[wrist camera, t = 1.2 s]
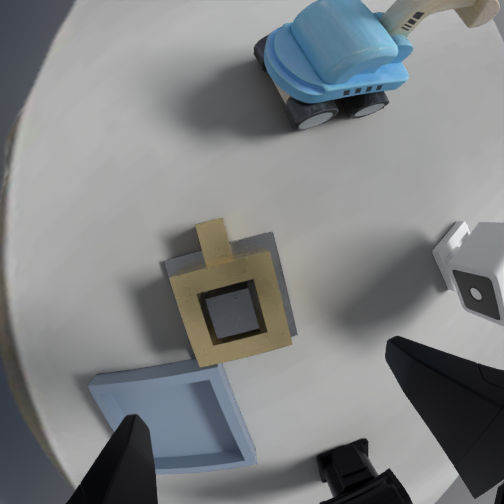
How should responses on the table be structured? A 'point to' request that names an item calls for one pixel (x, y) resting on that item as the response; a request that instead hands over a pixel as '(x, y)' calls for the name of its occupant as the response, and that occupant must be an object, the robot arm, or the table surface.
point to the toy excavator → (349, 54)
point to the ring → (223, 274)
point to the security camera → (475, 267)
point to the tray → (180, 415)
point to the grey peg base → (237, 290)
